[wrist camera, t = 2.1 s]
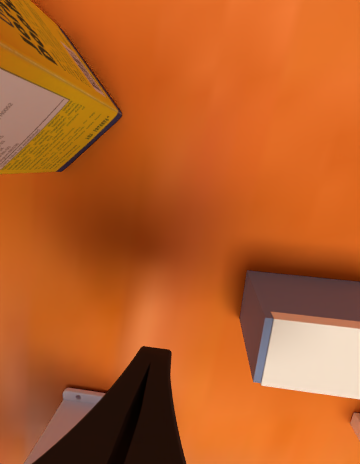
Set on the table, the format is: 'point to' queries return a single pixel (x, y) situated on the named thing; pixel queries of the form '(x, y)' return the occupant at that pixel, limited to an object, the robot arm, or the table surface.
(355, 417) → the book rack
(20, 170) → the supplement box
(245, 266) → the table surface
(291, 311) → the boxed book
